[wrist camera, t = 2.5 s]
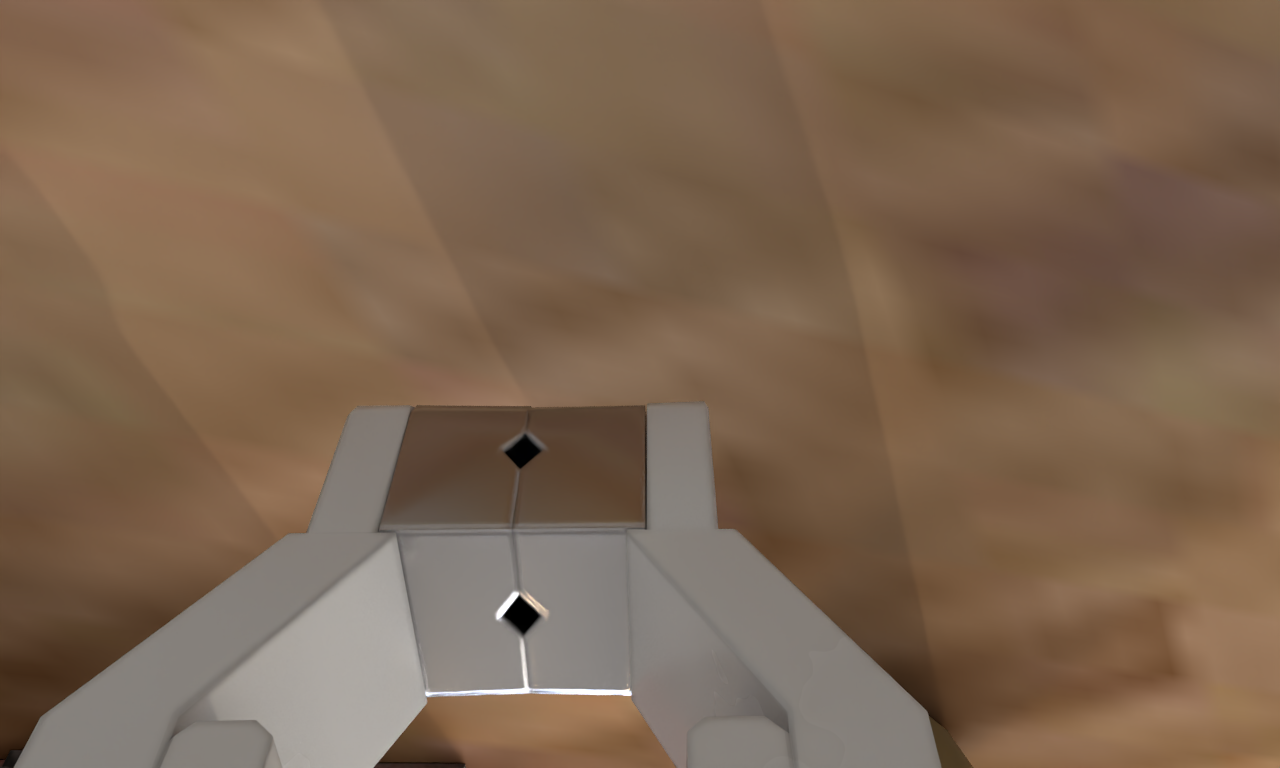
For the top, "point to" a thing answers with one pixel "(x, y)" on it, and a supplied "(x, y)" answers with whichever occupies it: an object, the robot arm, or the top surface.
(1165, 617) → the top surface
